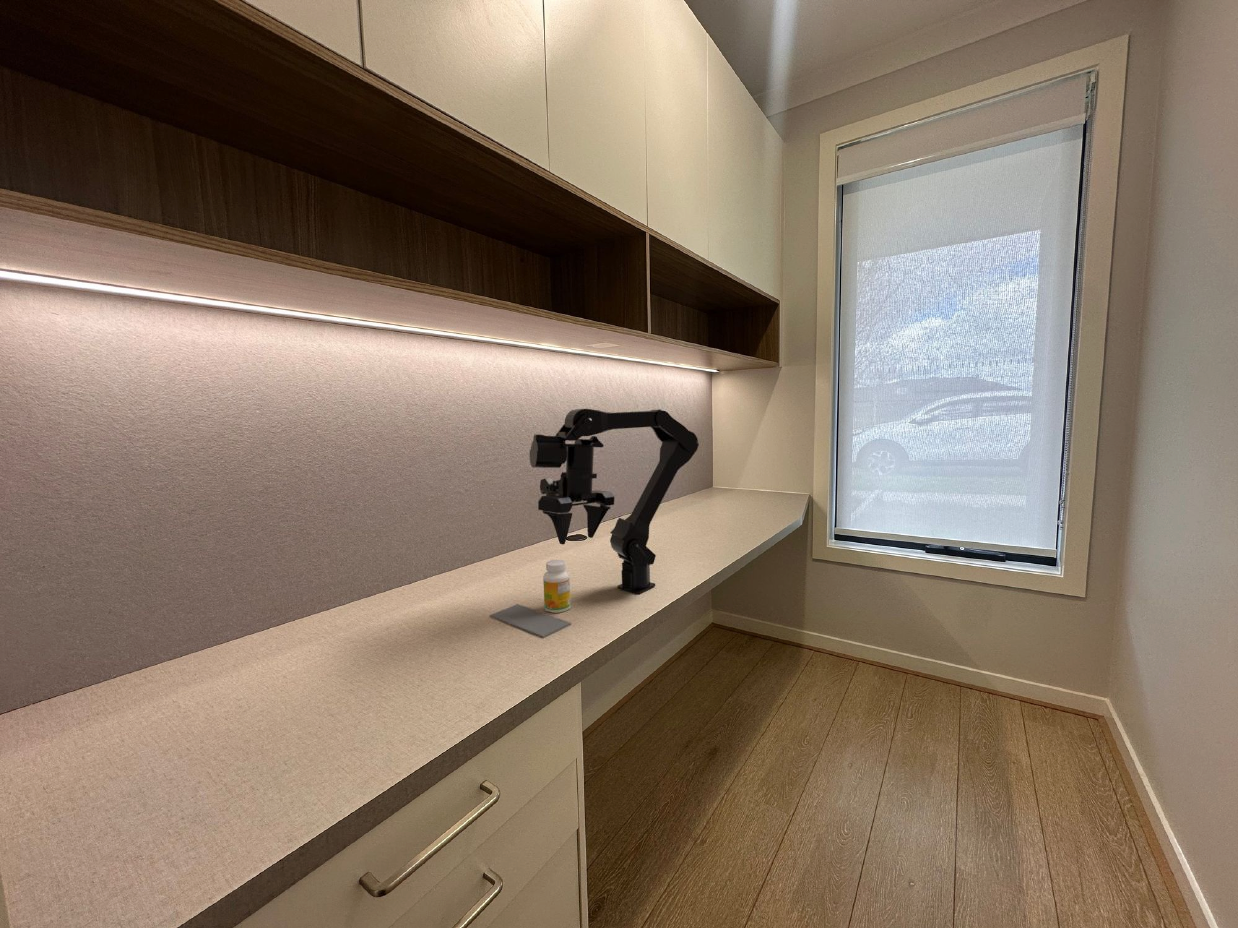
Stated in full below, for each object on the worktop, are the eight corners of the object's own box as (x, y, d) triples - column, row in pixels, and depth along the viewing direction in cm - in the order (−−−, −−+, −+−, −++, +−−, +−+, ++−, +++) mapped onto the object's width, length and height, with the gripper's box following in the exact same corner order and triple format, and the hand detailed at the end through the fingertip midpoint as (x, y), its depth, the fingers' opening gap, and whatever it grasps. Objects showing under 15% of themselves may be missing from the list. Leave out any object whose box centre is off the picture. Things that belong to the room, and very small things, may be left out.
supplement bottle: (539, 607, 100) (537, 562, 99) (561, 601, 104) (560, 556, 103) (553, 615, 96) (551, 568, 95) (575, 608, 99) (574, 562, 98)
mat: (517, 605, 102) (517, 603, 102) (571, 624, 92) (571, 622, 92) (489, 616, 96) (489, 614, 96) (543, 637, 86) (543, 636, 86)
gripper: (579, 464, 115) (576, 529, 116) (520, 466, 100) (518, 541, 101) (617, 467, 108) (614, 536, 109) (560, 470, 93) (557, 550, 94)
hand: (576, 540), depth 103 cm, fingers open, 9 cm apart
